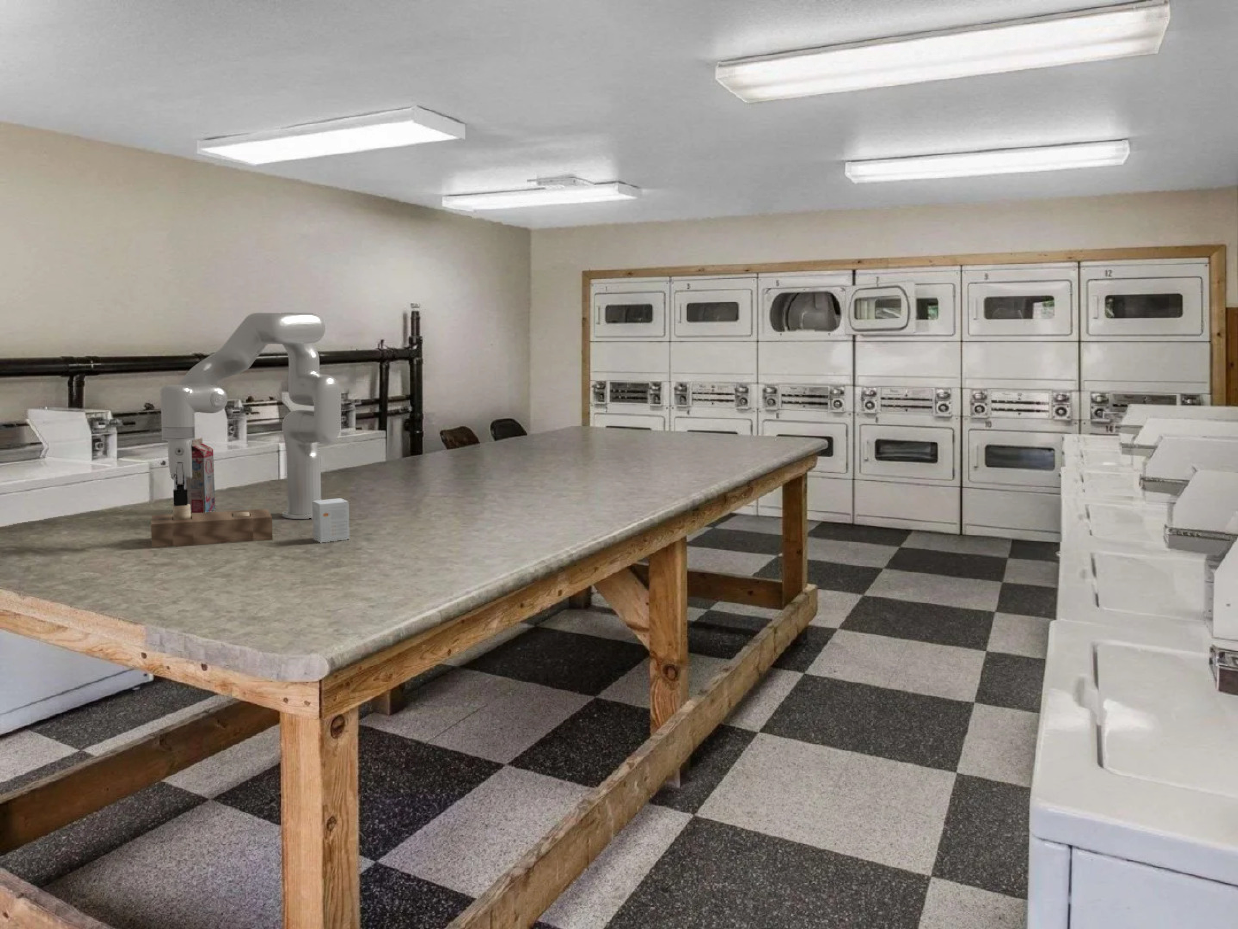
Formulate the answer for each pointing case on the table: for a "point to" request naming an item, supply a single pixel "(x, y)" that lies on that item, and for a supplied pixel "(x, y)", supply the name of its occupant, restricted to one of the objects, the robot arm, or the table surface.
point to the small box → (330, 520)
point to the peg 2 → (240, 514)
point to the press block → (211, 528)
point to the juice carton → (201, 479)
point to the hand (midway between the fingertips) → (180, 505)
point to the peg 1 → (181, 512)
